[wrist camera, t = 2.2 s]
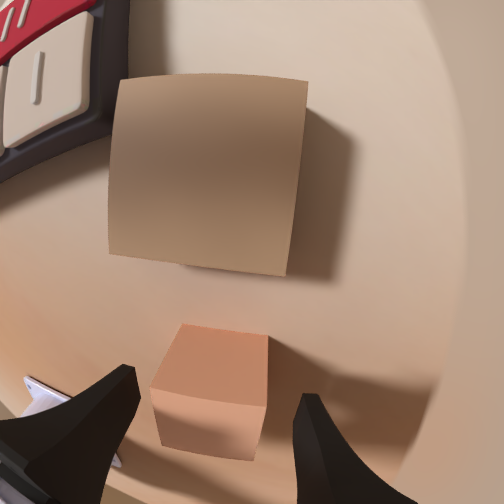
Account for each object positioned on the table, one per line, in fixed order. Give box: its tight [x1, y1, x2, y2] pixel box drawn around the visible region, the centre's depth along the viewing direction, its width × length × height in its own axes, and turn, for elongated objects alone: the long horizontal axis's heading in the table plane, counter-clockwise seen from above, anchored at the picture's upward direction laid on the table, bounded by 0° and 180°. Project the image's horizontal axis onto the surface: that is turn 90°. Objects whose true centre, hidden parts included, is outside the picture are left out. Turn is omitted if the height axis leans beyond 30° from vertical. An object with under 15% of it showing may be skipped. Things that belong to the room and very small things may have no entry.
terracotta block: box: [149, 324, 268, 461], centre depth 11 cm, size 4×4×4 cm
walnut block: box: [108, 74, 308, 277], centre depth 9 cm, size 6×6×3 cm
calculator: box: [0, 0, 130, 183], centre depth 8 cm, size 11×4×15 cm
